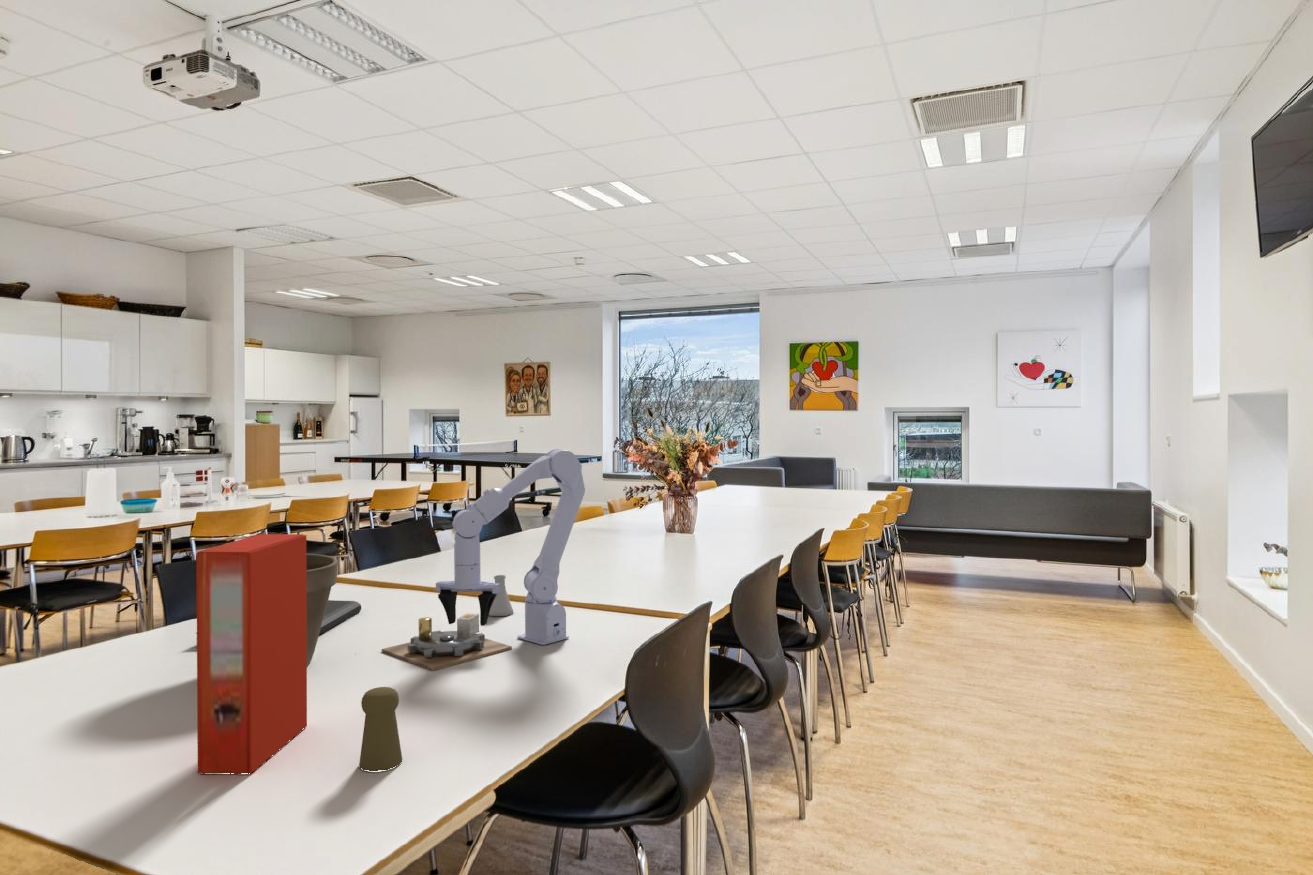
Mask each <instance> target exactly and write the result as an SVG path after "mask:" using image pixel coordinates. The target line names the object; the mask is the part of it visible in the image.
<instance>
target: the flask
mask: <svg viewBox="0 0 1313 875" xmlns="http://www.w3.org/2000/svg"><path fill="white" fill-rule="evenodd" d="M493 579H494V583H499V584H500V592H498V593H497V595H496V597H495V599H494V601H493V603H492V606H491V609H490V612H489V616H491V617H506V616H508V617H509V616H511V615H512V614H514V609H513V607H512V603H511V600H510V598H509V595H508V592H507V590H506V581H505V580H506V575H505V574H498V575H497V574H496V575H494V576H493ZM489 616H488V617H489Z"/></svg>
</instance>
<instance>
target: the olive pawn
mask: <svg viewBox="0 0 1313 875" xmlns="http://www.w3.org/2000/svg"><path fill="white" fill-rule="evenodd" d="M360 702H361V703H360V704H361V708H362V711H363V713H364V714H365V717H364V725H363V732H362V740H361V749H360V756H359V765H358V767H359V766H360V768H362V769H363V770H369V771H378V770H388V769H390V768H393V767H395V766H397V765H399V764H400V763H401V762H402V763H403V761H402V760H403V756H402V749H401V742H400V735H399V728H398V721H397V715H396V710H397V708H398V706H399V702H400V696H399V693H398V692H397V690H396V689H395V688H393V687H389V686H379V687H374V688H371V689H368V690H367V691H366V692H365V693H364V694H363V695H362V698H361V700H360ZM402 763H401V764H402ZM401 764H400V765H401ZM400 765H399V766H400ZM360 768H359V769H360Z"/></svg>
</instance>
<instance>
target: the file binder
mask: <svg viewBox="0 0 1313 875" xmlns="http://www.w3.org/2000/svg"><path fill="white" fill-rule="evenodd" d="M306 554H307V534H302V533H301V534H291V533H289V534H288V533H287V534H283V533H280V534H279V533H278V534H277V533H276V534H275V533H269V534H268V533H265V534H264V533H259V534H256V535H252V536H249V537H245V538H242V539H237V540H236V541H231V542H227V543H224V544H220V545H216V546H212V547H209V548H206V549H203V550H199V551H197V552H196V556H195V557H196V641H197V642H196V684H197V685H196V689H197V690H196V691H197V692H196V694H197V695H196V698H197V700H196V701H197V703H196V705H197V706H196V710H197V712H196V713H197V714H196V716H197V717H196V718H197V719H196V721H197V722H196V723H197V725H196V726H197V735H196V736H197V738H196V739H197V774H201V773H203V774H202V775H206V774H205V773H230V774H231V773H234V774H241V773H248V774H249V773H250V774H251V773H252V772H253V771H254V770H256V769H257V768H258V767H259V766H260V765H261V766H263V765H264V764H265V763H266V762H267V761H268V760H267V759H269V758H270V757H271V756H272V755H273V754H274V753H276V752H277V751H278V750H279V749H280V748H281V749H283V748H284V747H285V746H286V745H287V744H288V743H289V742H288V741H289V740H291V739H292V738H293V737H294V736H296V735H297V734H298V733H299V732H300V731H301V730H302V729H303V728H305V727H306V728H307V726H308V706H307V705H308V684H307V683H308V672H307V671H308V670H307V669H308V668H307V667H308V666H307V576H306ZM306 728H305V729H306ZM301 732H302V731H301ZM301 732H300V733H301ZM300 733H299V734H300ZM299 734H298V735H299ZM298 735H297V736H298ZM297 736H296V737H297ZM294 738H295V737H294ZM294 738H293V739H294ZM293 739H292V740H293ZM292 740H291V741H292ZM287 742H288V743H287ZM286 743H287V744H286ZM285 744H286V745H285ZM284 745H285V746H284ZM283 746H284V747H283ZM282 747H283V748H282ZM281 749H280V750H281ZM280 750H279V751H280ZM279 751H278V752H279ZM278 752H277V753H278ZM277 753H276V754H277ZM274 755H275V754H274ZM274 755H273V756H274ZM273 756H272V757H273ZM272 757H271V758H272ZM271 758H270V759H271ZM270 759H269V760H270ZM266 760H267V761H266ZM265 761H266V762H265ZM264 762H265V763H264ZM263 763H264V764H263ZM262 764H263V765H262ZM261 766H260V767H261ZM260 767H259V768H260ZM259 768H258V769H259ZM258 769H257V770H258ZM257 770H256V771H257ZM254 772H255V771H254ZM254 772H253V773H254ZM253 773H252V774H253ZM252 774H251V775H252Z"/></svg>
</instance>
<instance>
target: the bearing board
mask: <svg viewBox="0 0 1313 875" xmlns="http://www.w3.org/2000/svg"><path fill="white" fill-rule="evenodd" d="M408 644H411V641H410V642H406V643H402V644H401V643H400V644H398V645H393V646H388V647H384V648H381V652H382V651H383V652H382V653H384V652H385V653H384V654H386V653H388V654H387V655H389V654H390V655H389V656H392V655H393V656H392V657H394V656H395V658H397V657H398V659H400V660H402V659H403V661H405V662H408V663H411V664H413V665H415V666H418V665H420V666H419V667H421V666H423V667H422V668H424V667H425V668H424V669H426V668H428V669H427V670H429V669H431V670H430V671H432V670H434V671H436V670H435V669H437V670H440V669H439V668H441V669H444V668H443V667H445V668H447V667H446V666H448V667H450V666H449V665H452V666H455V665H459V664H461V663H465V662H469V661H474V660H477V659H481V658H484V656H485V657H488V656H491V654H492V655H495V654H494V653H496V654H498V653H497V652H499V653H502V652H501V651H503V652H505V651H504V650H507V651H509V650H508V649H510V650H512V649H513V646H512V645H509V644H506V643H502V642H499V641H496V640H492V639H488V638H486V637H485V642H484V648H482V649H481V650H475V649H474V650H472V651H469V652H465V653H463V655H461V656H454V655H447V656H434V657H432V658H429V657H424V655H423V654H419V653H417V652H415V653H409V652H408ZM487 655H488V656H487Z"/></svg>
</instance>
